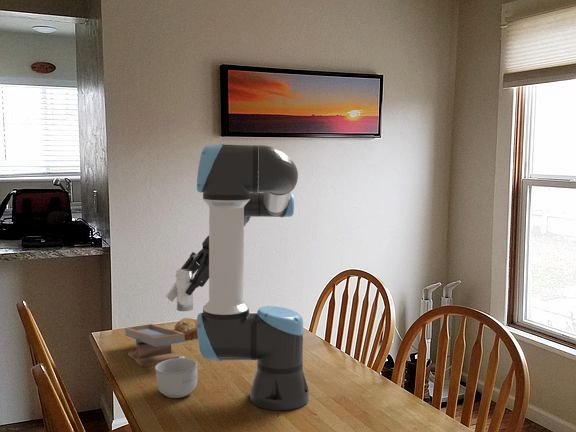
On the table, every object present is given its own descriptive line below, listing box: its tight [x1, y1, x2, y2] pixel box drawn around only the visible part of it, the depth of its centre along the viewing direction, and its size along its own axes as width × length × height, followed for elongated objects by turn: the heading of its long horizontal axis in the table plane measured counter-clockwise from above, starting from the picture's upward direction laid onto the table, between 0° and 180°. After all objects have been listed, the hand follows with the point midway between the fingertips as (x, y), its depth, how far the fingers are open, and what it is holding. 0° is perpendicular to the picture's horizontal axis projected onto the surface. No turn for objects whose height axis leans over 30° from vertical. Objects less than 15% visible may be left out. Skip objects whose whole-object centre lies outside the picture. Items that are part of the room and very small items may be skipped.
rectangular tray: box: [124, 323, 186, 347], centre depth 184 cm, size 26×11×3 cm, turn 34°
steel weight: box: [175, 268, 194, 312], centre depth 184 cm, size 5×5×12 cm
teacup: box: [154, 355, 198, 399], centre depth 159 cm, size 14×11×8 cm
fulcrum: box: [127, 342, 181, 368], centre depth 184 cm, size 12×12×5 cm
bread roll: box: [174, 317, 198, 341], centre depth 207 cm, size 10×10×8 cm
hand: (174, 300), depth 182 cm, fingers closed on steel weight, 5 cm apart
